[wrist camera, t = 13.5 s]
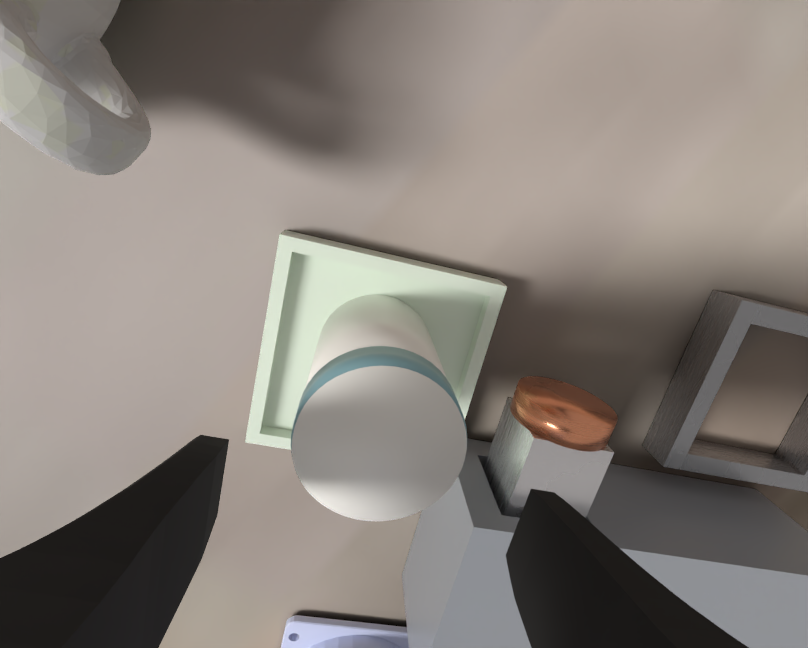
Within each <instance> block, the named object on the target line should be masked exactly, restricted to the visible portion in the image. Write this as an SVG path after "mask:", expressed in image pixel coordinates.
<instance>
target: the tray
mask: <svg viewBox="0 0 808 648" xmlns="http://www.w3.org/2000/svg"><path fill="white" fill-rule="evenodd" d="M506 289H507V286H506V285H505V284H503V283H502V282H501V281H500V280H499V279H495V278H490V277H486V276H482V275H477V274H473V273H469V272H464V271H460V270H456V269H452V268H447V267H443V266H439V265H434V264H430V263H426V262H421V261H417V260H413V259H409V258H404V257H400V256H396V255H391V254H387V253H383V252H378V251H374V250H370V249H365V248H361V247H357V246H353V245H348V244H344V243H340V242H335V241H331V240H327V239H322V238H318V237H314V236H310V235H305V234H301V233H297V232H292V231H288V230H284V231H283V232H282V233H281V234H280V236H279V242H278V248H277V254H276V260H275V266H274V272H273V278H272V284H271V290H270V296H269V302H268V308H267V314H266V320H265V326H264V332H263V338H262V344H261V350H260V356H259V362H258V368H257V374H256V380H255V386H254V392H253V398H252V404H251V410H250V416H249V422H248V428H247V434H246V440H245V442H246V443H252V444H258V445H265V446H271V447H277V448H283V449H289V450H291V433H292V428H293V424H294V420H295V417H296V413H297V410H298V406H299V403H300V400H301V397H302V394H303V392H304V390H305V388H306V384H307V380H308V377H309V373H310V370H311V366H312V362H313V359H314V355H315V351H316V348H317V344H318V340H319V337H320V333H321V331H322V328H323V326H324V324H325V322H326V320H327V319H328V318H329V316H330V315H331V314H332V313H333V312H334V311H335V310H336V309H337V308H338V307H339V306H341V305H342V304H344V303H346V302H347V301H349V300H352V299H354V298H357V297H360V296H365V295H386V296H390V297H393V298H396V299H399V300H401V301H403V302H405V303H406V304H408V305H409V306H411V307H412V308H413V309H414V310H415V311H416V312H417V313H418V314H419V315H420V316H421V318H422V319H423V321H424V323H425V325H426V327H427V329H428V332H429V334H430V337H431V339H432V342H433V344H434V347H435V349H436V352H437V355H438V357H439V360H440V362H441V365H442V367H443V370H444V372H445V375H446V378H447V380H448V381H449V383H450V385H451V387H452V389H453V391H454V393H455V396H456V398H457V401H458V403H459V406H460V408H461V411H462V413H463V416H464V419H465V418H466V414H467V411H468V408H469V405H470V402H471V399H472V396H473V393H474V389H475V386H476V383H477V380H478V377H479V374H480V371H481V368H482V364H483V361H484V358H485V355H486V352H487V349H488V346H489V343H490V339H491V336H492V333H493V330H494V327H495V324H496V321H497V318H498V314H499V311H500V308H501V305H502V302H503V299H504V296H505V293H506Z"/></svg>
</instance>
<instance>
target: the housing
mask: <svg viewBox="0 0 808 648" xmlns="http://www.w3.org/2000/svg"><path fill="white" fill-rule="evenodd" d="M491 444H492V443H490V442H485V441H479V440H473V439H467V450H466V456H465V460H464V463H463V467H462V469H461V471H460V473H459V475H458V477H457V479H456V480H455V482H454V483H453V485H452V486H451V487H450V489H449V490H448V491H447V492H446V493H445V494H444V495H443V496H442V497H441V498H440V499H439V500H437V501H436V502H435V503H433V504H432V505H430V506H429V507H427V508H425V509H423V510H422V512H421V515H420V518H419V522H418V525H417V528H416V531H415V535H414V538H413V541H412V544H411V548H410V551H409V554H408V557H407V560H406V564H405V567H404V570H403V573H402V580H403V591H404V602H405V612H406V623H407V633H408V644H409V648H531V645H530V642H529V639H528V637H527V634H526V631H525V628H524V625H523V622H522V619H521V616H520V613H519V610H518V607H517V604H516V601H515V598H514V593H513V589H512V585H511V580H510V575H509V570H508V565H507V560H506V553H507V550H508V548H509V545H510V542H511V540H512V537H513V534H514V532H515V529H516V527H517V524H518V521H519V519H520V518H518V517H511V516H504V515H501V513H500V510H499V508H498V505H497V503H496V500H495V498H494V495H493V493H492V490H491V488H490V485H489V483H488V480H487V478H486V475H485V473H484V470H483V467H484V464H485V462H486V459H487V456H488V453H489V450H490V447H491ZM586 519H587V520H588V521H589V522H590V523H592V524H593V525H594V526H595V527H596V528H597V529H598V530H599V531H601V532H602V533H603V534H604V535H605V536H606V537H607V538H608V539H610V540H611V541H612V542H613V543H614V544H615V545H616V546H618V547H619V548H620V549H621V550H622V551H623V552H624V553H626V554H627V555H628V556H629V557H630V558H631V559H632V560H634V561H635V562H636V563H637V564H638V565H640V566H641V567H642V568H643V569H644V570H645V571H647V572H648V573H649V574H650V575H652V576H653V577H654V578H655V579H656V580H658V581H659V582H660V583H661V584H663V585H664V586H665V587H666V588H668V589H669V590H670V591H671V592H673V593H674V594H675V595H676V596H678V597H679V598H680V599H681V600H683V601H684V602H685V603H687V604H688V605H689V606H691V607H692V608H693V609H695V610H696V611H697V612H699V613H700V614H702V615H703V616H704V617H706V618H707V619H709V620H710V621H711V622H713V623H714V624H715V625H717V626H718V627H720V628H721V629H722V630H724V631H725V632H727V633H728V634H729V635H731V636H732V637H734V638H735V639H737V640H738V641H740V642H741V643H743V644H744V645H746V646H747V647H749V648H808V531H806V530H805V529H804V528H803V527H801V526H800V525H799V524H798V523H797V522H795V521H794V520H793V519H792V518H790V517H789V516H788V515H787V514H786V513H784V512H783V511H782V510H781V509H780V508H778V507H777V506H776V505H775V504H773V503H772V502H771V501H770V500H769V499H767V498H766V497H765V496H764V495H762V494H761V493H760V492H759V491H758V490H756V489H753V488H747V487H741V486H735V485H730V484H724V483H718V482H713V481H707V480H701V479H696V478H690V477H684V476H678V475H673V474H667V473H661V472H656V471H650V470H644V469H639V468H633V467H627V466H621V465H616V464H609V466H608V468H607V470H606V473H605V475H604V477H603V480H602V482H601V484H600V486H599V489H598V491H597V493H596V496H595V498H594V500H593V503H592V505H591V507H590V509H589V512H588V514H587V516H586Z"/></svg>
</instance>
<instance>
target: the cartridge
mask: <svg viewBox="0 0 808 648" xmlns="http://www.w3.org/2000/svg"><path fill="white" fill-rule="evenodd" d="M466 450H467V429H466V423H465V419H464V416H463V413H462V411H461V408H460V406H459V403H458V401H457V398H456V396H455V393H454V391H453V389H452V387H451V385H450V383H449V381H448V380H447V378H446V375H445V372H444V370H443V367H442V365H441V362H440V360H439V357H438V355H437V352H436V349H435V347H434V344H433V342H432V339H431V337H430V334H429V332H428V329H427V327H426V325H425V323H424V321H423V319H422V318H421V316H420V315H419V314H418V313H417V312H416V311H415V310H414V309H413V308H412V307H411V306H409V305H408V304H406V303H405V302H403V301H401V300H399V299H396V298H393V297H390V296H386V295H365V296H360V297H357V298H354V299H352V300H349V301H347V302H346V303H344V304H342V305H341V306H339V307H338V308H337V309H336V310H335V311H334V312H333V313H332V314H331V315H330V316H329V318H328V319H327V320H326V322H325V324H324V326H323V328H322V331H321V333H320V337H319V340H318V344H317V348H316V351H315V355H314V359H313V362H312V366H311V370H310V373H309V377H308V380H307V384H306V388H305V390H304V392H303V394H302V397H301V400H300V403H299V406H298V410H297V413H296V417H295V420H294V424H293V428H292V433H291V453H292V459H293V463H294V467H295V470H296V473H297V475H298V477H299V479H300V481H301V483H302V484H303V486H304V487H305V489H306V490H307V491H308V492H309V493H310V495H311V496H313V497H314V498H315V499H316V500H317V501H318V502H319V503H321V504H322V505H324V506H325V507H326V508H328V509H330V510H332V511H334V512H336V513H338V514H340V515H343V516H346V517H349V518H353V519H357V520H364V521H389V520H395V519H400V518H404V517H407V516H410V515H413V514H415V513H417V512H420V511H422V510H423V509H425V508H427V507H429V506H430V505H432V504H433V503H435V502H436V501H437V500H439V499H440V498H441V497H442V496H443V495H444V494H445V493H446V492H447V491H448V490H449V489H450V487H451V486H452V485H453V483H454V482H455V480H456V479H457V477H458V475H459V473H460V471H461V469H462V467H463V463H464V460H465V456H466Z"/></svg>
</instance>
